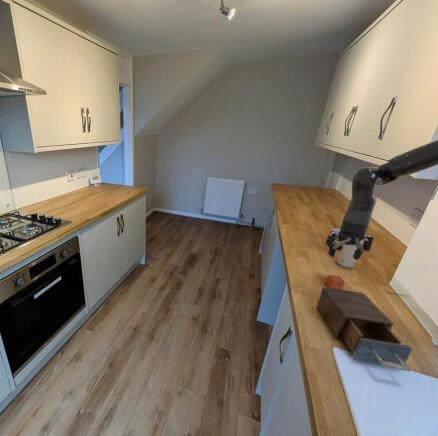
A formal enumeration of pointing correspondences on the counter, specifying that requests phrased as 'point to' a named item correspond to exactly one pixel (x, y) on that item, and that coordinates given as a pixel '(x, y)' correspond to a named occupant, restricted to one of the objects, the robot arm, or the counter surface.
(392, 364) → the drawer
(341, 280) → the block
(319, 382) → the counter surface
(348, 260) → the travel mug
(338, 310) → the cabinet
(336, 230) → the coffee mug
